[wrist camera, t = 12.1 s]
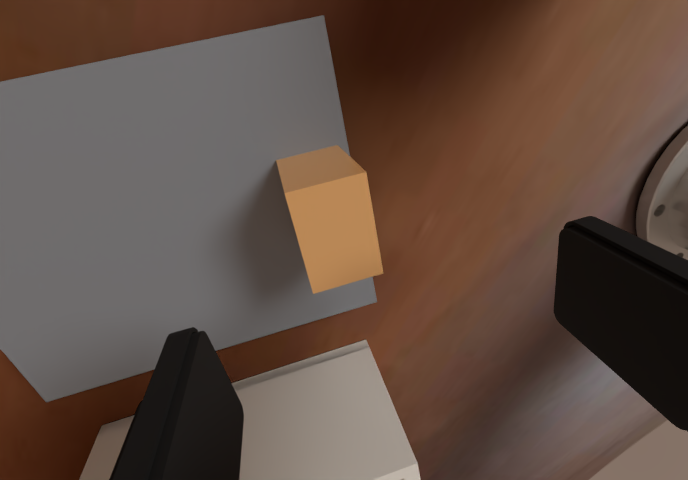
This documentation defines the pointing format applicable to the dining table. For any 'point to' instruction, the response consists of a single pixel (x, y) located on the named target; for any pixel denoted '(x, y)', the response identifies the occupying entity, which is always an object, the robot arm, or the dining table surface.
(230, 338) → the grey board with block
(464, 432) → the dining table surface
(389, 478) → the parts tub
